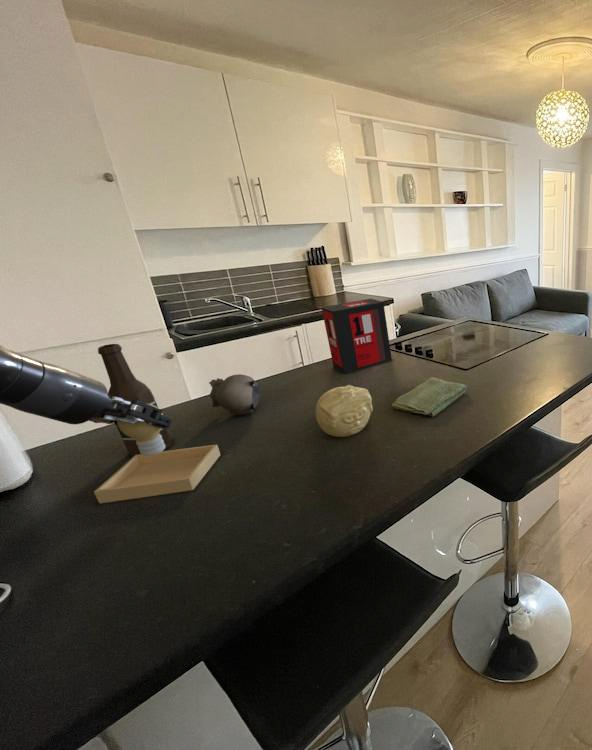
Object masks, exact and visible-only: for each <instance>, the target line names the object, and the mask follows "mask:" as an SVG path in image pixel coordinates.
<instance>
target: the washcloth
mask: <svg viewBox="0 0 592 750" xmlns="http://www.w3.org/2000/svg"><path fill="white" fill-rule="evenodd" d="M467 389H468V387H467V385H466V384H463V383H458V382H453V381H446V380H443V379H441V378H437V377H430V378H428V379H427V380H426V381H424V382H423V383H420V384H418V385H417V386H415V387H414V388H412V389H411V390H409V391H408V392H406V393H404V394H402V395H399V396H398V397H397V398H396V399H395V400H394V401H393V402H392V404H391V407H394V409H396V410H401V411H404V412H410V413H414V414H421V415H424V416H430V417H435V416H437V415H439V413H440V412H442V411H444V410H445V408H447V407H448V406H450V405H451V404H452V403H453V402H455V401H456V400H458V399H459V398H460V397H462V395H464V394H465V393H466V391H467Z"/></svg>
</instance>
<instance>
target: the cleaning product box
mask: <svg viewBox="0 0 592 750" xmlns="http://www.w3.org/2000/svg"><path fill="white" fill-rule="evenodd" d="M321 313H322V315H323V316H322V317H323V322H324V327H325V332H326V337H327V342H328V347H329V351H330V356H331V360H332V365H333V368H334V369H336V370H338V371H339V372H340V373H342V374H344V375H347V374H350V373H353V372H356V371H357V372H358V371H360V370H363V369H367V368H371V367H374V366H378V365H381V364H384V363H388V362H391V361H393V359H392V352H391V344H390V337H389V332H388V331H389V330H388V324H387V318H386V311H385V304H384V301H381V300H378V299H375V298H366V299H360V300H356V301H355V300H354V301H349V302H344V303H338V304H332V305H327V306H321Z"/></svg>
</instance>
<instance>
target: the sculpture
mask: <svg viewBox="0 0 592 750" xmlns="http://www.w3.org/2000/svg"><path fill="white" fill-rule="evenodd" d="M372 401H373V400H372V396H371V395H370V391H369V390H368V389H367V388H364V387H358V386H353V385H352V384H346V385H345V386H337V387H334V388H332V389H329V390H327V391H326V392H324V393H323V394H322V395H320V397H319V399H318V401H317V403H316V406H315V418H316V421H317V424H318V426H319V427H320V429H321V430H322V431H323V433H325V434H327V435H329V436H332V437H336V438H346V437H351V436H353V435H355V434H358V433H359V432H361V431H362V430H364V429H365V427H366V426H367V424H368V422H369V421H370V417H371V414H372V412H373V410H374V409H373V404H372V403H373V402H372Z"/></svg>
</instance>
